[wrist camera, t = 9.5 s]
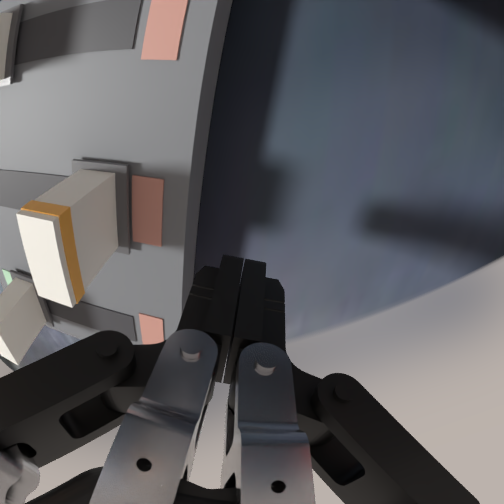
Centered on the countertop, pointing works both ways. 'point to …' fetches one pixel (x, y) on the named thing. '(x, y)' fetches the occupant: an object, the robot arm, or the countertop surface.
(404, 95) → the countertop surface
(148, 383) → the robot arm
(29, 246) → the block
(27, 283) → the breaker
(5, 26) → the breaker
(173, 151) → the breaker panel
